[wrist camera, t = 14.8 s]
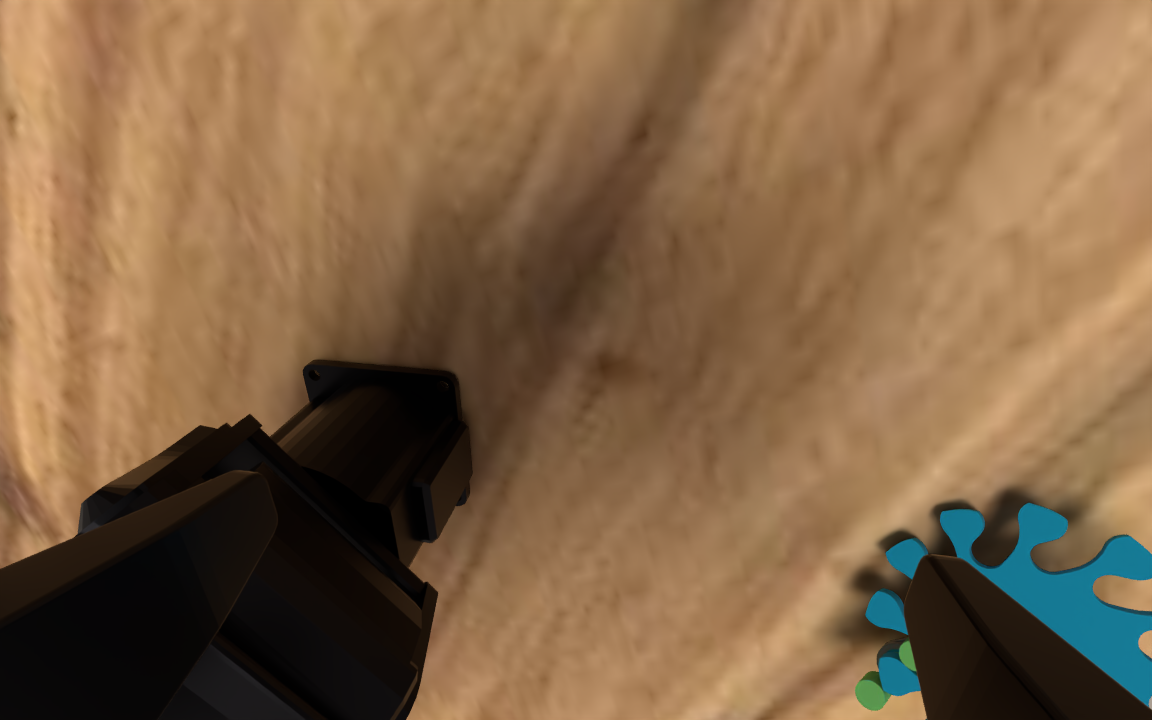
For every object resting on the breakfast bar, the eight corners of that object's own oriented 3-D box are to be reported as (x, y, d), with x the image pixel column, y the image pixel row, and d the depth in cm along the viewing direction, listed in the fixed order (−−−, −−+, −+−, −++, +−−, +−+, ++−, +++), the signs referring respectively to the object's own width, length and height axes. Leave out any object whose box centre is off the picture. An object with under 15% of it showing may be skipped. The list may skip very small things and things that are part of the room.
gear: (1124, 461, 18) (1382, 853, 14) (1107, 466, 22) (1298, 762, 18) (794, 551, 23) (908, 847, 19) (834, 541, 28) (934, 779, 24)
